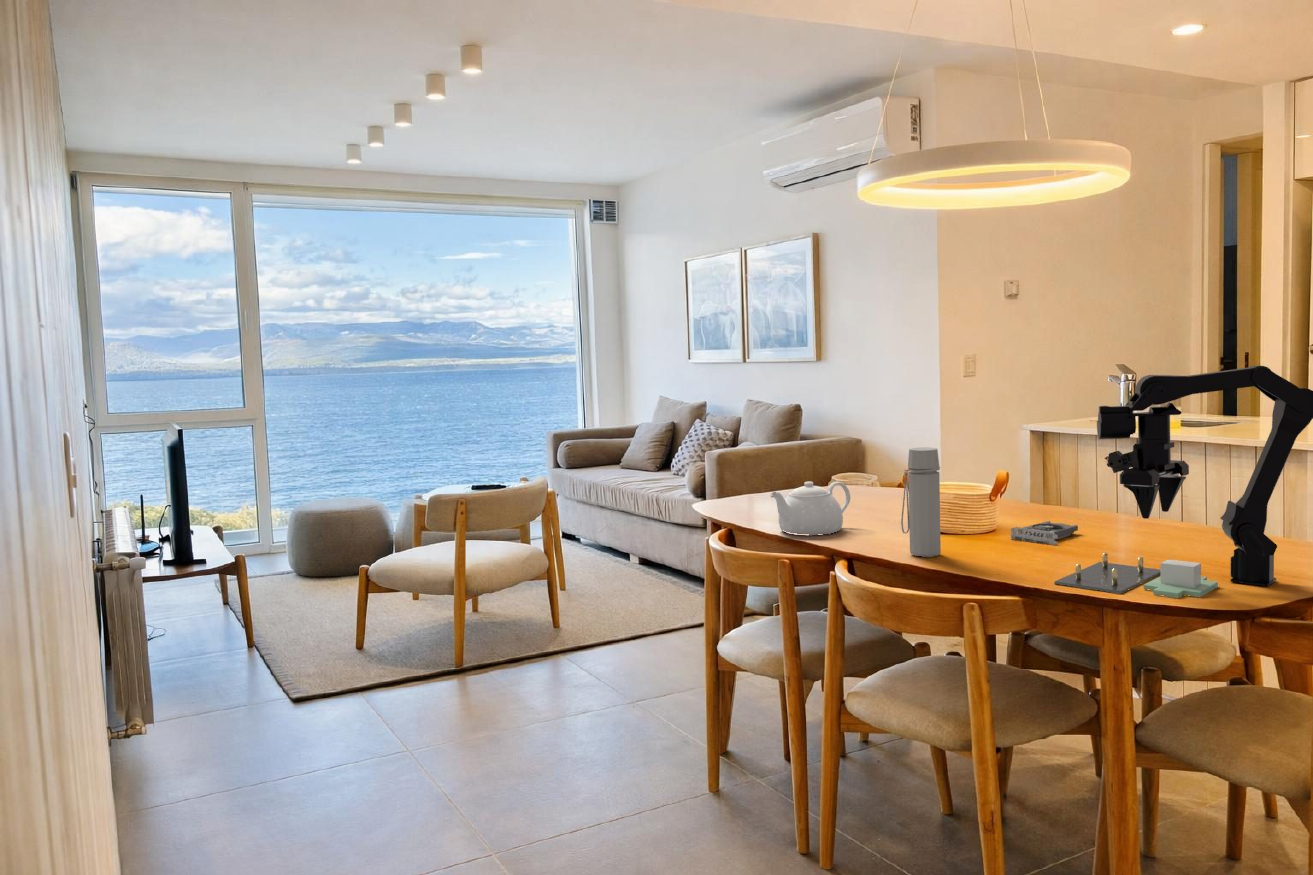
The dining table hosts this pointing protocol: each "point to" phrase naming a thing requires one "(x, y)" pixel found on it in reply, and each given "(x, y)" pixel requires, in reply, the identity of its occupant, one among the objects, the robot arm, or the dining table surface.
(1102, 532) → the dining table surface
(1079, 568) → the plate
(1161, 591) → the board
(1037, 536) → the graphics card
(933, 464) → the water bottle
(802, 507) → the teapot
